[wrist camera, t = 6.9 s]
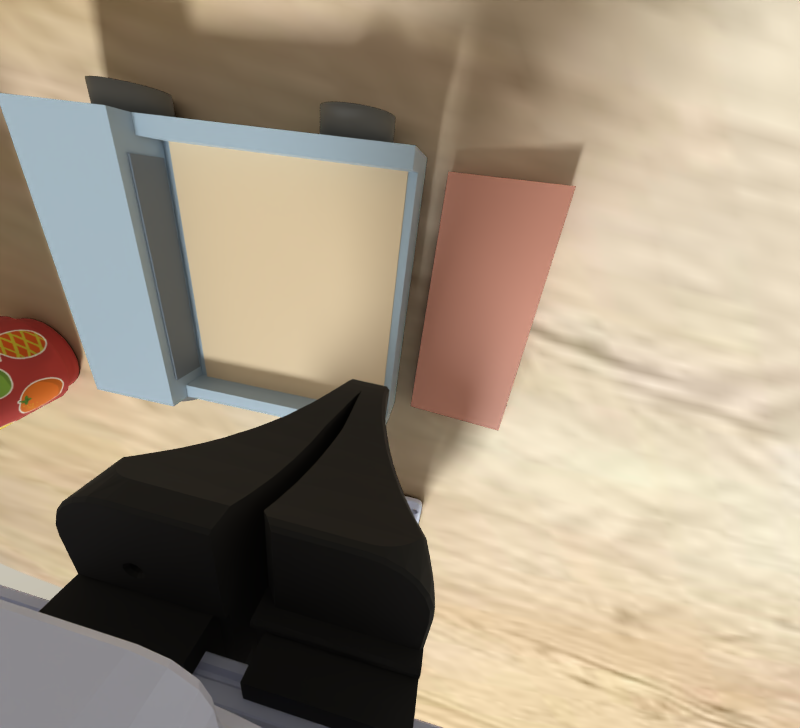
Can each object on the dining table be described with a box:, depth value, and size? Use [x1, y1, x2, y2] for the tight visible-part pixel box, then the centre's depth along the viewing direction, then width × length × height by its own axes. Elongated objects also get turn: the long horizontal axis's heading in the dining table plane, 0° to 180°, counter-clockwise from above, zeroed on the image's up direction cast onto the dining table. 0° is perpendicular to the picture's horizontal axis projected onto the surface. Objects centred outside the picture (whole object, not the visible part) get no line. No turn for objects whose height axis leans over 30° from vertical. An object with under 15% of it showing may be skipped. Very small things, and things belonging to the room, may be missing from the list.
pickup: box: [0, 76, 427, 424], centre depth 18 cm, size 16×17×5 cm
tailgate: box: [411, 172, 576, 430], centre depth 18 cm, size 13×1×6 cm
